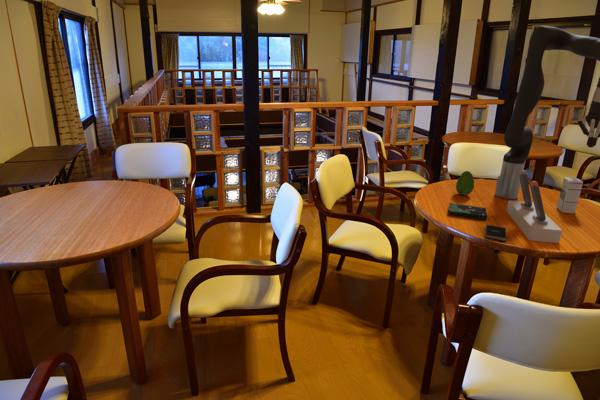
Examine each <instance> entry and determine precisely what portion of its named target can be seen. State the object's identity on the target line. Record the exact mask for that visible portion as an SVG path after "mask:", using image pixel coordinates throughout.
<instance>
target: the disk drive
mask: <svg viewBox="0 0 600 400" xmlns="http://www.w3.org/2000/svg"><path fill="white" fill-rule="evenodd" d="M448 216H450V217H457V218H463V219H470V220H471V219H472V220H479V221H485V222H486V221H487V220H488V213H487V208H486V207H483V206H482V207H481V206H474V205H466V204H459V203H451V202H450V203H449V204H448Z"/></svg>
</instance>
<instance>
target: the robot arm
mask: <svg viewBox="0 0 600 400" xmlns="http://www.w3.org/2000/svg"><path fill="white" fill-rule="evenodd" d="M553 50H554V51H568V52H571V53H573V54H575V55H577V56H579V57H583V58H589V59H593V60H596V61H599V62H600V38H599V37H595V36H588V35H578V34H574V33H572V32H568V31H567V30H563V29H561V28H560V27H557V26H549V25H540V26H538V27H536V28H535V29H534V30H533V32H532V34H531V36H530V39H529V43H528V49H527V54H526V61H525V65H524V70H523V74H522V77H521V80H520V84H519V88H518V92H517V96H516V100H515V104H514V106H513V110H512V112H511V113H512V114H511V117H510V119H509V122H508V123H507V127H506V129H505V133H504V136H503V141H504V144H505V145H506V147H508V148H510V149H509V150H508V151H507V152H506V153H504V154H503V159H502V163H501V167H500V168H501V169H500V174H499V176H498V177H497V181H496V187H495V191H494V196H496V197H499V198H502V199H504V200H505V199H506V200H517V199H518V197H519V191H520V188H521V183H520V178H519V171H520V170H525V169H524V168H525V164H526V161H527V159H528V157H529V155H530V152H531V148H532V146H533V140H534V133H533V131H532V130H531V128H529V127H527V126H526V123H527V121H528V119H529V116H530V115H531V113H532V112H533V110H534V109H535V108H536V107H537V106H538V103H539V102H540V100H541V98H542V95H543V92H544V88H545V75H544V71H543V67H542V66H543V65H542V64H543V57H544V54H545V51H553ZM577 124H578V125H579V128H580V129H581V132H582V134H583V135H585V136H587V140H586V146H587V148H591V149H592V148H594V147H596V145H597V143H598V139H599V138H600V76H599V77H598V81H597V84H596V87H595V89H594V92H593V95H592V99H591V101H590V105H589V109H588V112H587V114H586V115H585V117H584V118H582V119H579V120H578V121H577ZM586 124H587V125H588V127H589V130H588V128H587V126H586Z"/></svg>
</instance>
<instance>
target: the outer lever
mask: <svg viewBox="0 0 600 400" xmlns="http://www.w3.org/2000/svg"><path fill="white" fill-rule="evenodd" d="M528 184H529V190H530V194H531V196H532V197H531V198H532V203H534V206H535V210H536V215H537V216H538V217H539V218H540V219H541V220H542V221H545V220H546V217H545V214H546V213H545V210H544V209H545V208H544V204H543V199H542V195H541V191H540V187H539V186H540V185H539V183H538V181H536V180H532V181H530V182H528Z"/></svg>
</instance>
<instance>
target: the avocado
mask: <svg viewBox="0 0 600 400" xmlns="http://www.w3.org/2000/svg"><path fill="white" fill-rule="evenodd" d="M455 188H456V192H457V193H458V194H459V195H461V196H467V195H471V193H472V192H473V191H474V188H475V179H474V176H473V173H472V172H470V171H469V170H465V171H463V172H462V173H461V174H460V176H459V177H458V179H457V180H456V183H455Z"/></svg>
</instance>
